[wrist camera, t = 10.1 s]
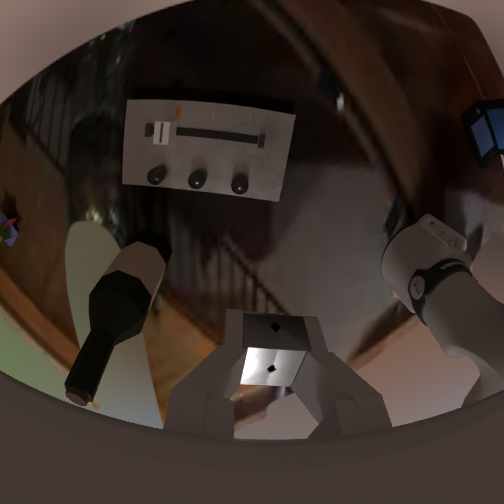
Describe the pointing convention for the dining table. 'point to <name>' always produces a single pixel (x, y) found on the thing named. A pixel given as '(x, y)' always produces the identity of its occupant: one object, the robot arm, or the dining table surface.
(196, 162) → the console
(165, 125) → the fader
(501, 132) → the handheld game console
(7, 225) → the geometric puzzle
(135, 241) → the wine bottle
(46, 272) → the dining table surface
